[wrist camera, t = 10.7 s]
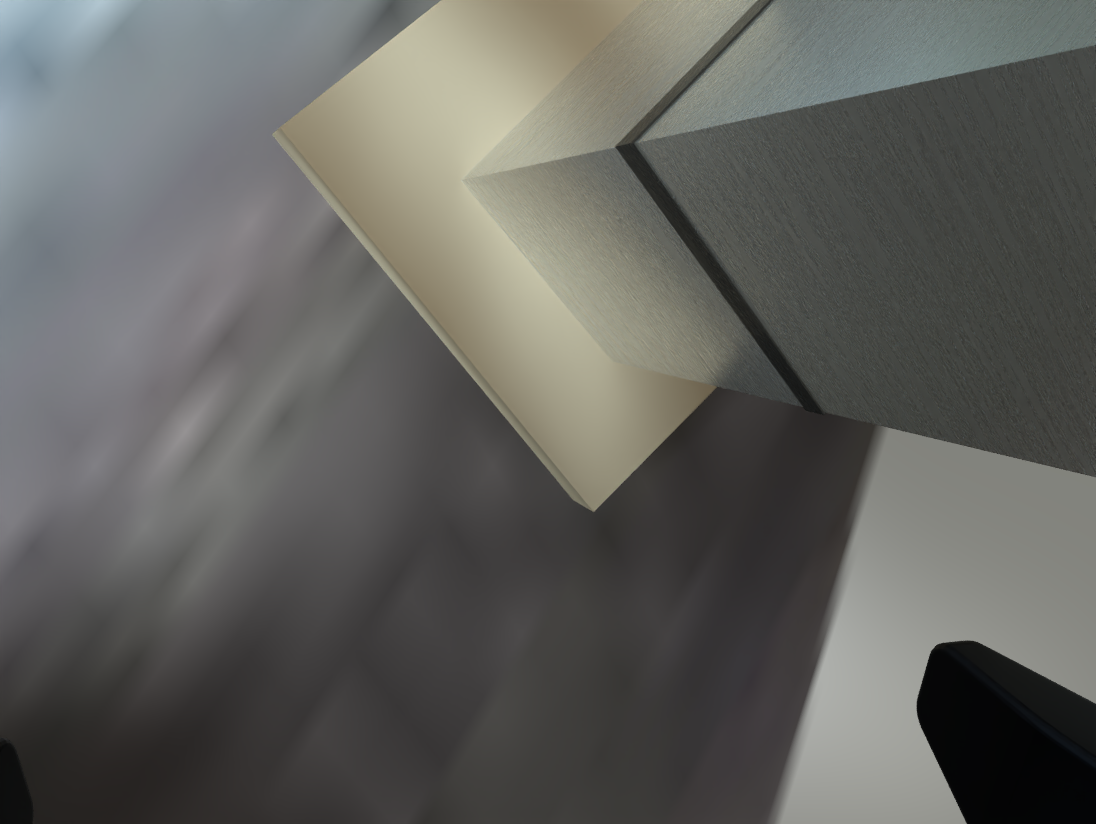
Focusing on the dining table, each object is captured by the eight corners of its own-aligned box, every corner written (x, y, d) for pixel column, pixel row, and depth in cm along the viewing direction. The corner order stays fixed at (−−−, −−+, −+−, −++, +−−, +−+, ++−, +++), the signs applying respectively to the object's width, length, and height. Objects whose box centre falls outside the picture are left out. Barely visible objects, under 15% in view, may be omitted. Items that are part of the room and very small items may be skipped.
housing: (612, 363, 18) (1337, 539, 7) (458, 180, 16) (1154, 30, 5) (770, 189, 19) (1620, 109, 8) (646, -5, 17) (1570, -469, 6)
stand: (537, 479, 21) (593, 512, 19) (258, 145, 17) (279, 128, 15) (791, 229, 24) (875, 227, 21) (596, -121, 19) (669, -180, 17)
